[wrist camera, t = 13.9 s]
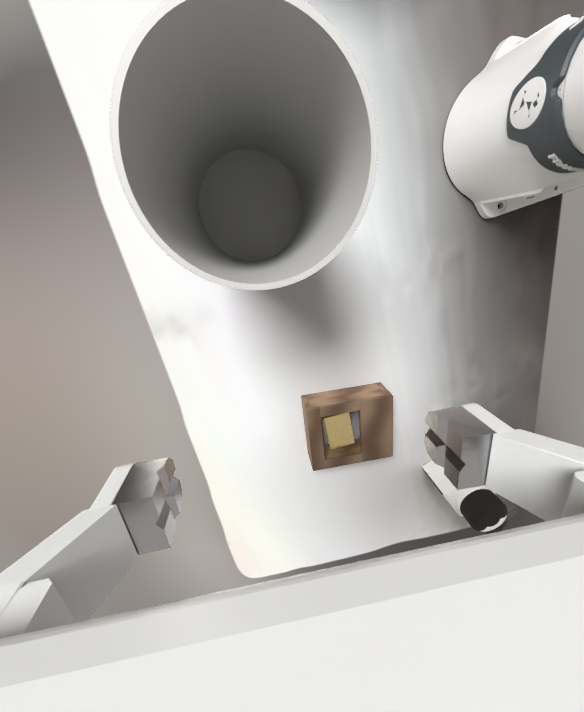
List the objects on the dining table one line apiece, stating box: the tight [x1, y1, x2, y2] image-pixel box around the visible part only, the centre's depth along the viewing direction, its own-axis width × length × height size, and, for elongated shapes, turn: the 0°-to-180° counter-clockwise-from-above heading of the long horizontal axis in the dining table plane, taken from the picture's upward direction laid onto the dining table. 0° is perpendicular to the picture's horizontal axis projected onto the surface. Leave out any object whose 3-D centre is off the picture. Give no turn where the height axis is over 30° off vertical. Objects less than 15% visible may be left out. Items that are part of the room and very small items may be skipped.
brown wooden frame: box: [301, 383, 393, 471], centre depth 48 cm, size 13×11×5 cm
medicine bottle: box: [422, 460, 507, 532], centre depth 51 cm, size 7×7×12 cm
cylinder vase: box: [110, 0, 378, 290], centre depth 26 cm, size 12×12×25 cm
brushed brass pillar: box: [321, 412, 355, 450], centre depth 49 cm, size 4×6×4 cm, turn 13°
